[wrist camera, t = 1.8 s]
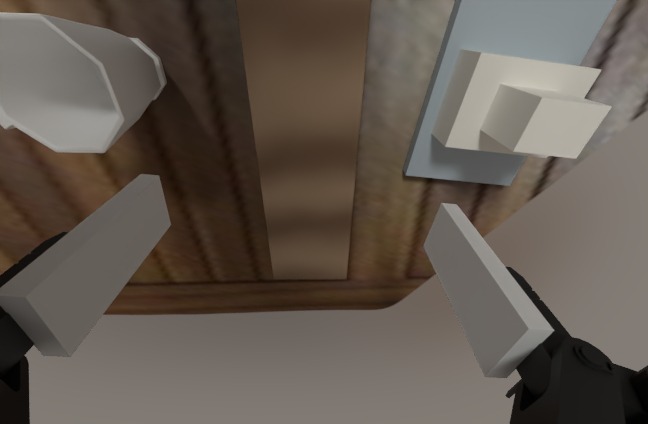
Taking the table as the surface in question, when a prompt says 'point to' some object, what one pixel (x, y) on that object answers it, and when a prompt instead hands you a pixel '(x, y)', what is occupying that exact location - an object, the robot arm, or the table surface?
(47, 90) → the cup
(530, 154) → the fulcrum
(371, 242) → the table surface
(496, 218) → the table surface
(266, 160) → the beam
